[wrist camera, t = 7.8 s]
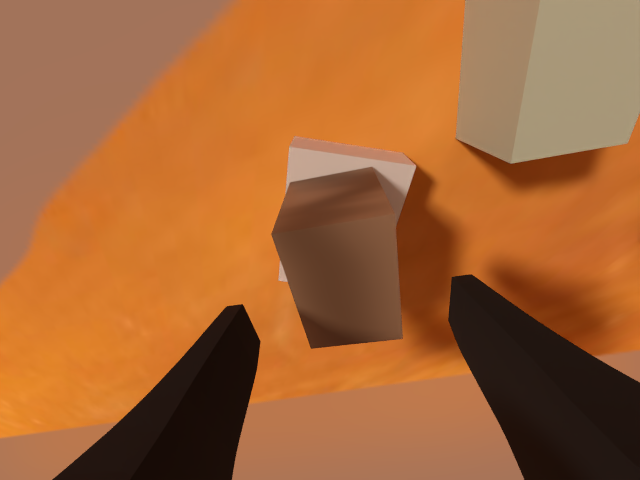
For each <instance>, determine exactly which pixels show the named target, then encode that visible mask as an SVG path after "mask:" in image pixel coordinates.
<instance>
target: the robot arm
mask: <svg viewBox="0 0 640 480" xmlns="http://www.w3.org/2000/svg"><path fill="white" fill-rule="evenodd" d="M448 321H449V323H450V326H451V329H452V331H453V334H454V336H455V339H456V341H457V344H458V346H459V349H460V351H461V353H462V355H463V357H464V359H465V360H466V362H467V364H468V366H469V368H470V370H471V372H472V374H473V376H474V377H475V379H476V381H477V383H478V385H479V387H480V388H481V390H482V392H483V394H484V396H485V398H486V400H487V402H488V404H489V405H490V407H491V409H492V411H493V413H494V415H495V416H496V418H497V420H498V422H499V424H500V426H501V428H502V430H503V432H504V434H505V436H506V438H507V440H508V443H509V445H510V447H511V449H512V452H513V454H514V456H515V459H516V461H517V463H518V466H519V468H520V470H521V473H522V475H523V477H524V480H640V383H639V382H638V381H636V380H634V379H632V378H630V377H629V376H627V375H625V374H623V373H622V372H620V371H618V370H616V369H614V368H612V367H611V366H609V365H607V364H606V363H604V362H602V361H600V360H599V359H597V358H595V357H594V356H592V355H590V354H589V353H587V352H585V351H584V350H582V349H581V348H579V347H577V346H576V345H574V344H573V343H571V342H569V341H568V340H566V339H565V338H563V337H561V336H560V335H558V334H557V333H555V332H554V331H552V330H550V329H549V328H547V327H546V326H544V325H543V324H541V323H540V322H538V321H537V320H535V319H534V318H532V317H531V316H529V315H528V314H527V313H525V312H524V311H522V310H521V309H519V308H518V307H516V306H515V305H514V304H512V303H511V302H509V301H508V300H507V299H505V298H504V297H502V296H501V295H500V294H498V293H497V292H495V291H494V290H493V289H491V288H490V287H488V286H487V285H486V284H484V283H483V282H482V281H480V280H479V279H477V278H476V277H475V276H473V275H472V274H471V275H463V276H455V277H452V282H451V294H450V306H449V318H448ZM259 348H260V340H259V338H258V335H257V333H256V331H255V329H254V327H253V325H252V323H251V321H250V318H249V316H248V314H247V312H246V310H245V308H244V306H243V304H241V305H233V306H227V307H226V308H225V309H224V310H223V311H222V312H221V313H220V314H219V316H218V317H217V318H216V319H215V320H214V321H213V323H212V324H211V325H210V326H209V327H208V328H207V330H206V331H205V332H204V333H203V334H202V335H201V337H200V338H199V339H198V340H197V341H196V342H195V343H194V345H193V346H192V347H191V348H190V349H189V350H188V351H187V353H186V354H185V355H184V356H183V357H182V358H181V359H180V360H179V362H178V363H177V364H176V365H175V366H174V367H173V368H172V369H171V370H170V371H169V372H168V373H167V374H166V375H165V376H164V377H163V379H162V380H161V381H160V382H159V383H158V384H157V385H156V386H155V387H154V388H153V389H152V390H151V391H150V392H149V393H148V394H147V395H146V396H145V397H144V398H143V399H142V400H141V401H140V402H139V403H138V404H137V405H136V406H135V407H134V408H133V409H132V410H131V411H130V412H129V413H128V414H127V415H126V416H125V417H124V418H123V419H121V420H120V421H119V422H118V423H117V424H116V425H115V426H114V427H113V428H112V429H111V430H110V431H109V432H107V434H105V435H104V436H103V437H102V438H101V439H99V440H98V441H97V442H96V443H95V444H94V445H93V446H91V447H90V448H89V449H88V450H87V451H86V452H84V453H83V454H82V455H81V456H80V457H79V458H78V459H76V460H75V461H74V462H73V463H72V464H70V465H69V466H68V467H67V468H66V469H65V470H63V471H62V472H61V473H60V474H59V475H58V476H56V477H55V478H54V479H53V480H232V475H233V468H234V462H235V457H236V452H237V447H238V443H239V438H240V435H241V431H242V426H243V423H244V419H245V415H246V411H247V407H248V403H249V399H250V395H251V391H252V387H253V383H254V379H255V375H256V371H257V364H258V357H259Z"/></svg>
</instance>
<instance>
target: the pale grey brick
mask: <svg viewBox="0 0 640 480" xmlns="http://www.w3.org/2000/svg"><path fill="white" fill-rule="evenodd" d="M368 167H373V169H374V171H375V173H376V176H377V178H378V180H379V182H380V184H381V186H382V188H383V190H384V192H385V194H386V196H387V198H388V200H389V202H390V204H391V206H392V209H393V211H394V213H395V222H396V225H397V222H398V219H399V216H400V213H401V210H402V207H403V204H404V202H405V199H406V196H407V193H408V190H409V187H410V184H411V181H412V178H413V175H414V172H415V169H416V165H415V164H414V163H413V162H412V161H411V160H410V159H409V158H408V157H406V156H405V155H404V154H403V153H401V152H394V151H388V150H381V149H375V148H368V147H362V146H355V145H349V144H342V143H336V142H329V141H323V140H317V139H310V138H304V137H297V136H294V138H293V140H292V142H291V144H290V146H289V157H288V170H287V182H286V192H287V189H288V187H289V184H290V182H294V181H300V180H305V179H310V178H315V177H321V176H326V175H331V174H336V173H342V172H347V171H352V170H357V169H363V168H368ZM285 195H286V194H285ZM279 281H285V282H288V281H287V278H286V275H285V272H284V269H283V266H282V263H281V260H280V269H279Z"/></svg>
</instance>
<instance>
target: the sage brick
mask: <svg viewBox="0 0 640 480" xmlns="http://www.w3.org/2000/svg"><path fill="white" fill-rule="evenodd" d="M639 113H640V0H465V13H464V28H463V42H462V56H461V71H460V85H459V99H458V113H457V128H456V139H458V140H460V141H462V142H464V143H467V144H469V145H471V146H473V147H475V148H477V149H480V150H482V151H484V152H486V153H488V154H491V155H493V156H495V157H497V158H499V159H501V160H504V161H506V162H508V163H510V164H512V163H518V162H523V161H529V160H535V159H541V158H546V157H552V156H558V155H563V154H569V153H575V152H581V151H586V150H592V149H598V148H604V147H609V146H615V145H621V144H626V143H628V141H629V138H630V136H631V133H632V131H633V128H634V126H635V123H636V121H637V118H638V116H639Z"/></svg>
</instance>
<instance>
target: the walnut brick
mask: <svg viewBox="0 0 640 480" xmlns="http://www.w3.org/2000/svg"><path fill="white" fill-rule="evenodd" d="M272 237H273V240H274V243H275V246H276V249H277V252H278V255H279V258H280V260H281V263H282V266H283V269H284V272H285V275H286V278H287V281H288V284H289V286H290V289H291V292H292V295H293V298H294V301H295V304H296V307H297V309H298V312H299V315H300V318H301V321H302V324H303V327H304V330H305V333H306V335H307V338H308V341H309V344H310V347H311V349H312V348H321V347H330V346H340V345H349V344H358V343H368V342H377V341H387V340H396V339H403V335H402V319H401V302H400V286H399V270H398V254H397V238H396V222H395V213H394V211H393V209H392V206H391V204H390V202H389V200H388V198H387V196H386V194H385V192H384V190H383V188H382V186H381V184H380V182H379V180H378V178H377V176H376V173H375V171H374V169H373V167H368V168H363V169H357V170H352V171H347V172H342V173H336V174H331V175H326V176H321V177H315V178H310V179H305V180H300V181H294V182H290V184H289V187H288V189H287V192H286V195H285V198H284V201H283V203H282V206H281V209H280V212H279V215H278V217H277V220H276V223H275V226H274V229H273V231H272Z"/></svg>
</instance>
